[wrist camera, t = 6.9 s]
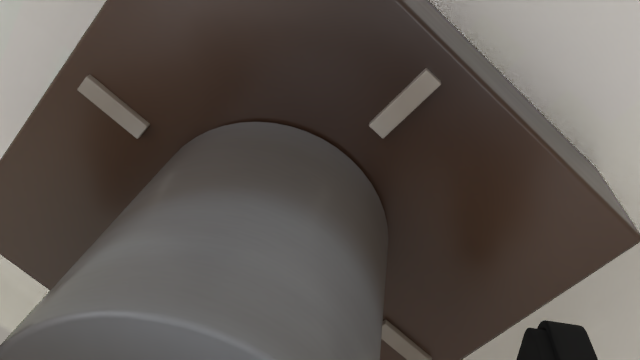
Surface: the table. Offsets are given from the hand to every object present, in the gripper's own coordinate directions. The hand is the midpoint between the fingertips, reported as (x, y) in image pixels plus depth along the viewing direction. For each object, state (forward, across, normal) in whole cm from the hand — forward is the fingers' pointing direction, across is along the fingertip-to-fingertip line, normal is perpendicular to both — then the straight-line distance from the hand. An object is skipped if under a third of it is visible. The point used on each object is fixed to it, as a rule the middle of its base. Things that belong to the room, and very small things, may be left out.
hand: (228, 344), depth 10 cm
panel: (+6, 0, -1) cm, 6 cm away
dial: (+3, 0, -1) cm, 3 cm away
